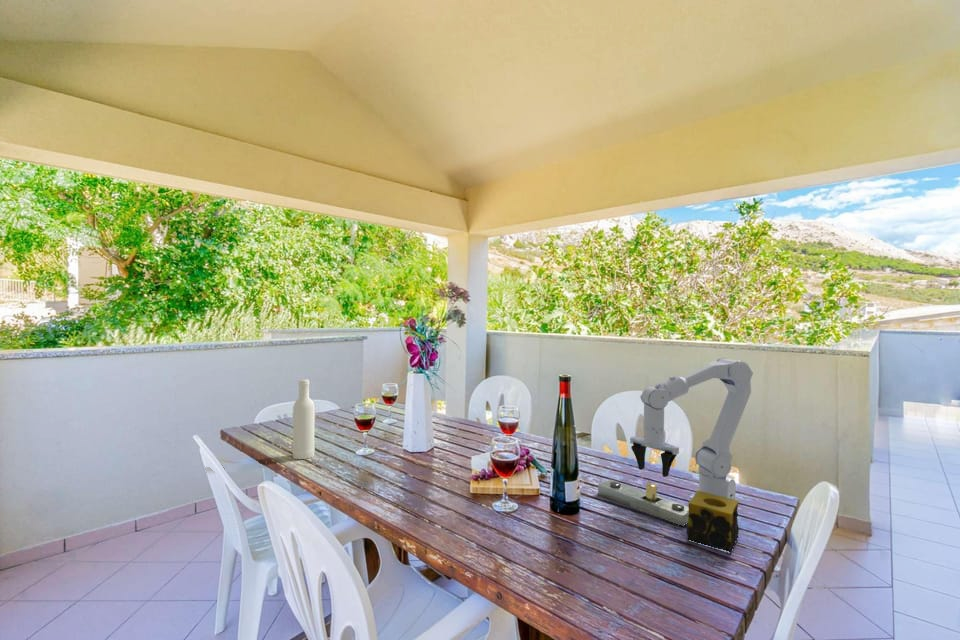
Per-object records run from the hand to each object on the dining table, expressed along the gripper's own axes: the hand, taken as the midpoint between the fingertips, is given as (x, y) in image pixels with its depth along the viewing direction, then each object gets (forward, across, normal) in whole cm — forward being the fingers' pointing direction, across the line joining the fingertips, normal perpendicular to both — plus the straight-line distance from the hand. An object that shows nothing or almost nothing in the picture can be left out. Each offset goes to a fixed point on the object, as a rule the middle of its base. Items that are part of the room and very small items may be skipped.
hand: (653, 472), depth 132 cm
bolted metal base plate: (+9, -1, -4) cm, 10 cm away
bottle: (+9, -107, -68) cm, 128 cm away
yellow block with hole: (+10, +21, -8) cm, 24 cm away
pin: (+9, +2, -4) cm, 10 cm away
